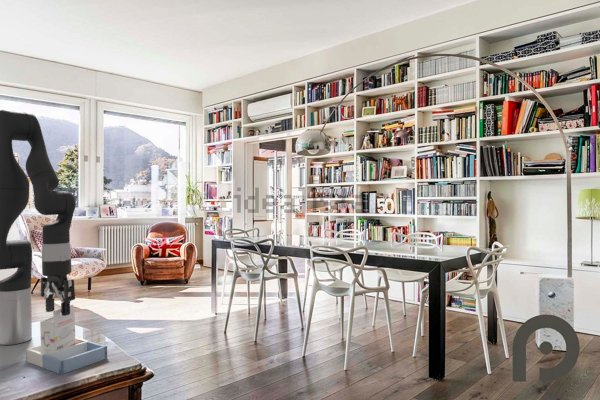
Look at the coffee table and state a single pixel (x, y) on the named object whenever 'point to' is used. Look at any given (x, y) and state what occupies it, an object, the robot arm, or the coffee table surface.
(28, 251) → the robot arm
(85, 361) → the organizer tray
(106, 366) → the coffee table surface
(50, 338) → the ink cartridge box
